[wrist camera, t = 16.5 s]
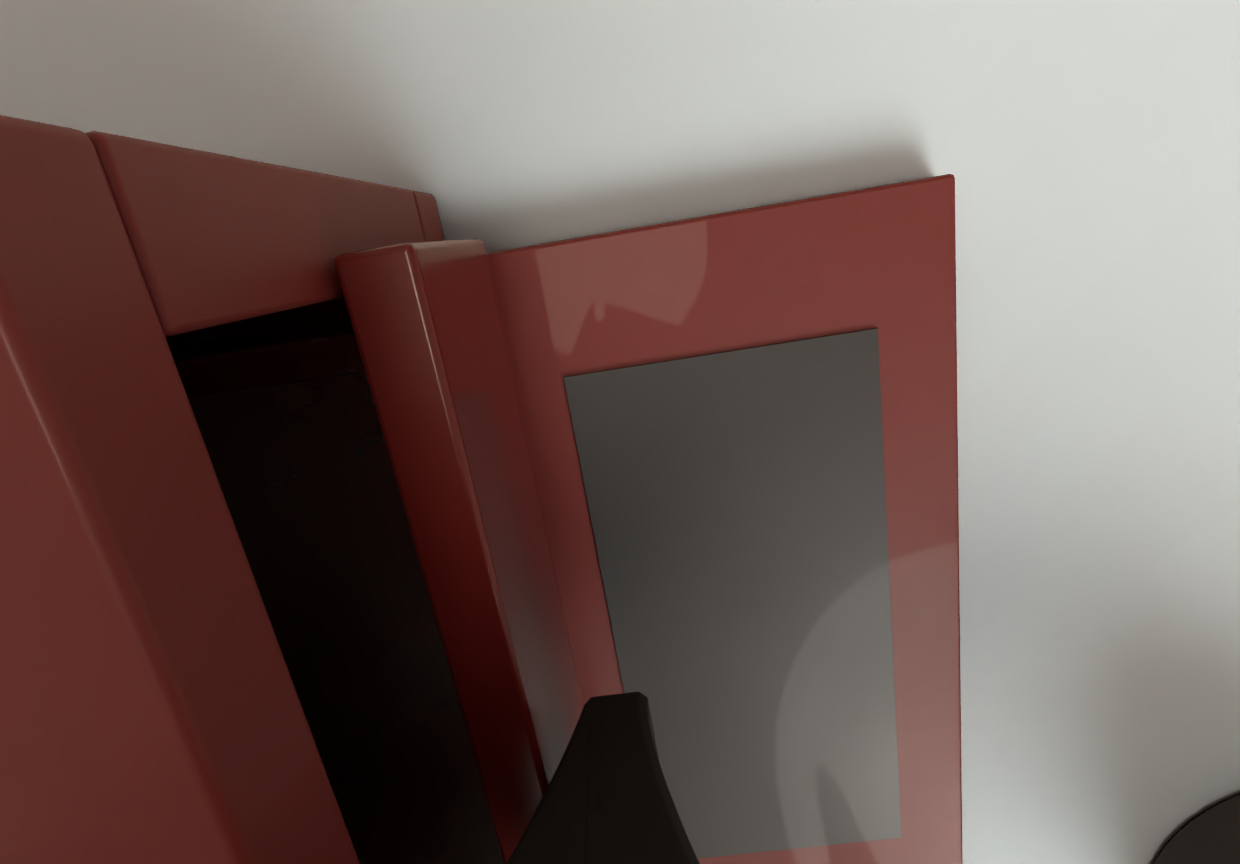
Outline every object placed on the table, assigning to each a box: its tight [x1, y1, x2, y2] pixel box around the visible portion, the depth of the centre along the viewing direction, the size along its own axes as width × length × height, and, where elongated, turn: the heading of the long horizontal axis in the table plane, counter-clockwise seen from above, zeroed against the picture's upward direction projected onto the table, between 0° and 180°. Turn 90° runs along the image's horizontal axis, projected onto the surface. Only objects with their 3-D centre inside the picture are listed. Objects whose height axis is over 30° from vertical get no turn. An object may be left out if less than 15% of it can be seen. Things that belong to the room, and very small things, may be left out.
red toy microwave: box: [0, 115, 962, 864], centre depth 9 cm, size 22×16×8 cm
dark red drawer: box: [171, 239, 584, 864], centre depth 10 cm, size 13×14×3 cm
